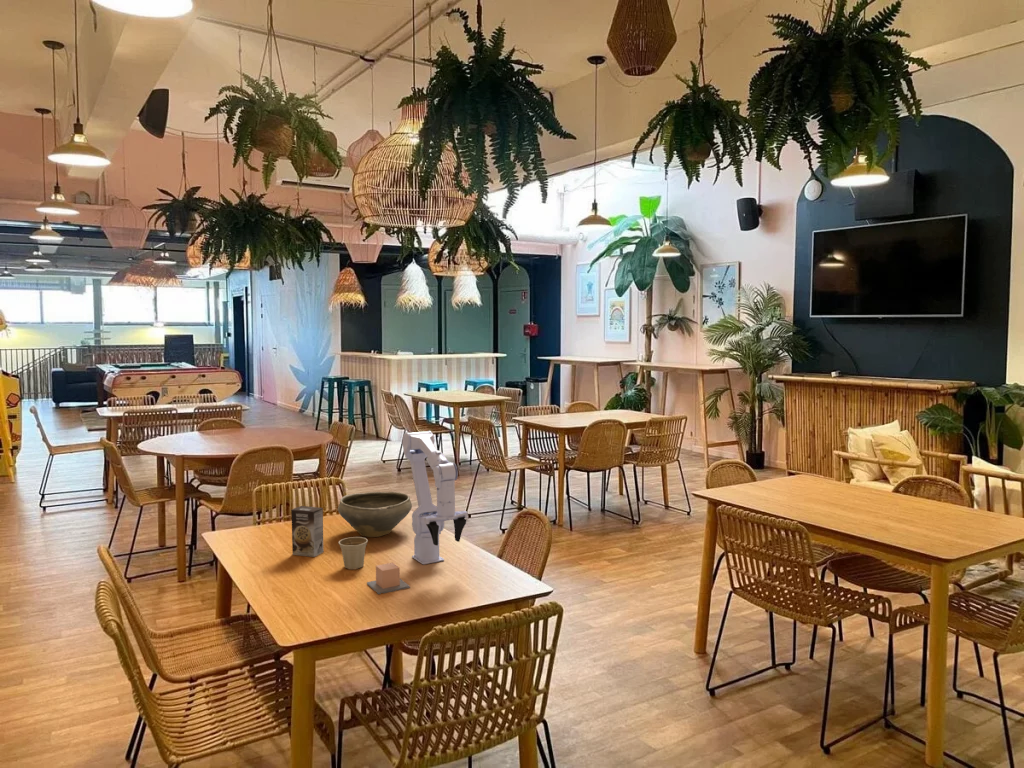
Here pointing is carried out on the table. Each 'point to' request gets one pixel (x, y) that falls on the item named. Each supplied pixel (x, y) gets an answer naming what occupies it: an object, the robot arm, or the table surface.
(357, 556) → the flower pot
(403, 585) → the slate coaster
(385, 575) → the painted block
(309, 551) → the coffee box
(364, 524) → the bowl
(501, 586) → the table surface
